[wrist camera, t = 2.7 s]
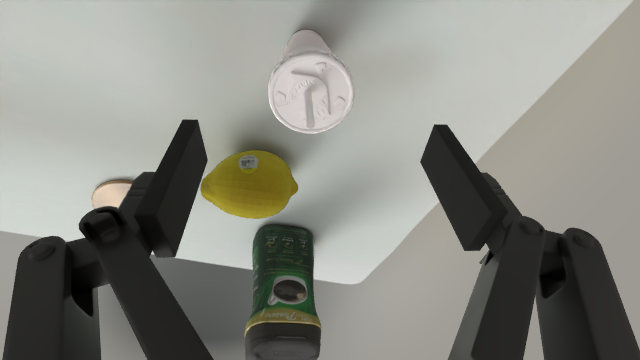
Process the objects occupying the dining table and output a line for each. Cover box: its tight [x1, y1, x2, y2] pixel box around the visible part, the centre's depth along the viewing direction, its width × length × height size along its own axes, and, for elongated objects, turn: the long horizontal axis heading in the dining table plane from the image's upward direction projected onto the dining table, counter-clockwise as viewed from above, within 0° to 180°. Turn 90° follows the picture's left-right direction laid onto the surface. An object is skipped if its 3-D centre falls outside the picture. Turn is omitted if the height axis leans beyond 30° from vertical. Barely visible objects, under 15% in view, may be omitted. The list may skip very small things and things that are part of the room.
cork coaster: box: [92, 180, 134, 209], centre depth 41 cm, size 10×10×1 cm
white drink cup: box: [268, 30, 354, 133], centre depth 23 cm, size 6×6×14 cm
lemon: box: [201, 150, 298, 219], centre depth 35 cm, size 11×8×8 cm
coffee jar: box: [245, 225, 321, 360], centre depth 42 cm, size 10×8×19 cm
